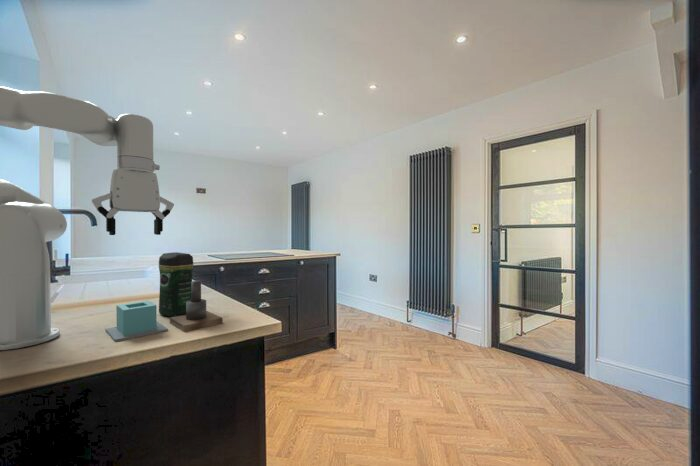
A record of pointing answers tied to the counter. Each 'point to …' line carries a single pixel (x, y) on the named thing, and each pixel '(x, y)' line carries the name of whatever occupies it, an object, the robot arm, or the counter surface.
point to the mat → (118, 336)
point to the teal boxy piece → (136, 317)
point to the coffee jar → (175, 283)
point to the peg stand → (195, 312)
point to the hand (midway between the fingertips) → (135, 234)
